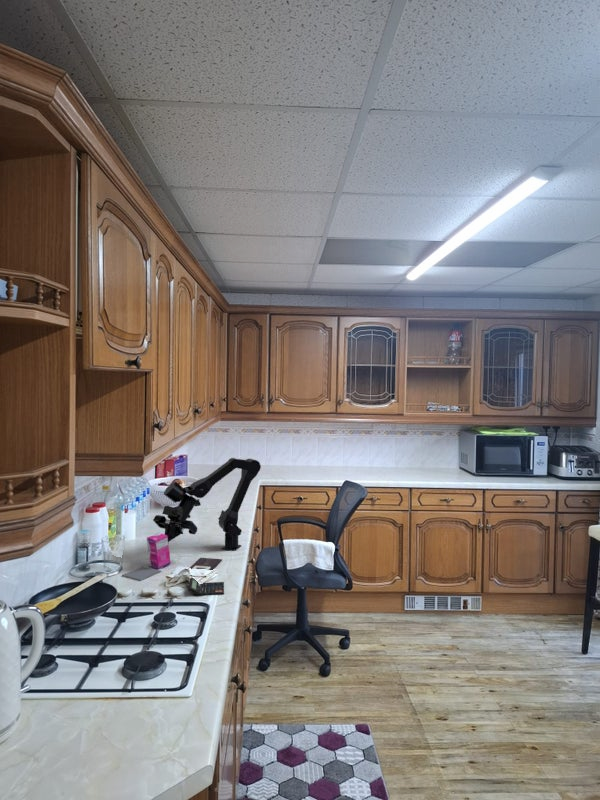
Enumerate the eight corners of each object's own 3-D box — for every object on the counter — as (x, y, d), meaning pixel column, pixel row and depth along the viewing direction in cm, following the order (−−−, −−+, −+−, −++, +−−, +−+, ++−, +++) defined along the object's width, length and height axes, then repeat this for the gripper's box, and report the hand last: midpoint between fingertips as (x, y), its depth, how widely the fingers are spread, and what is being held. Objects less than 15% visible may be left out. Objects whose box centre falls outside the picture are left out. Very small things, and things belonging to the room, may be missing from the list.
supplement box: (149, 566, 184) (146, 537, 183) (162, 560, 189) (159, 531, 187) (157, 569, 180) (154, 540, 179) (171, 563, 185) (168, 534, 184)
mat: (142, 567, 182) (142, 566, 182) (160, 571, 178) (160, 570, 178) (121, 576, 174) (121, 574, 174) (140, 580, 169) (140, 579, 169)
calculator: (223, 595, 159) (223, 586, 159) (187, 597, 158) (187, 587, 158) (223, 584, 169) (224, 575, 169) (189, 585, 167) (189, 577, 167)
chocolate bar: (222, 559, 192) (206, 576, 174) (222, 561, 192) (206, 578, 174) (200, 557, 193) (182, 574, 175) (200, 560, 193) (182, 576, 175)
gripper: (156, 494, 195) (135, 528, 185) (193, 500, 187) (172, 536, 177) (170, 510, 202) (149, 543, 193) (205, 516, 194) (186, 551, 184)
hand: (164, 543), depth 186 cm, fingers closed
